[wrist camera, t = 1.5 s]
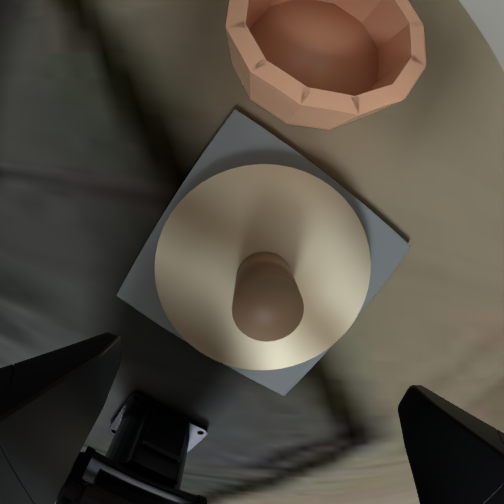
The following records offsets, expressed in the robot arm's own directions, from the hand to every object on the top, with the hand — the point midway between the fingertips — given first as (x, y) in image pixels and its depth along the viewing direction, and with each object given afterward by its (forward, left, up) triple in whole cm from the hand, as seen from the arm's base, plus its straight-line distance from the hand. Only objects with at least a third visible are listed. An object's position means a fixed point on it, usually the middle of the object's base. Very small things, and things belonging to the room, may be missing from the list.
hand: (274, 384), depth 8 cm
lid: (0, 0, -10) cm, 10 cm away
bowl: (+12, +5, -10) cm, 17 cm away
